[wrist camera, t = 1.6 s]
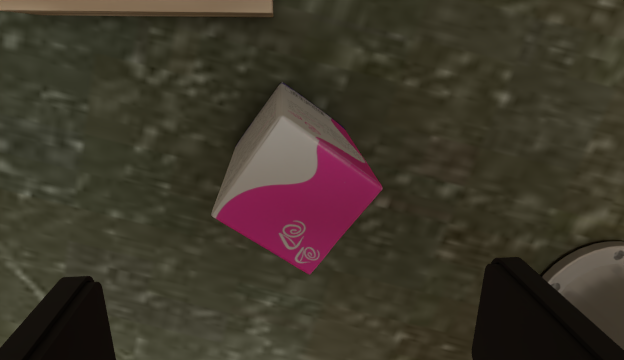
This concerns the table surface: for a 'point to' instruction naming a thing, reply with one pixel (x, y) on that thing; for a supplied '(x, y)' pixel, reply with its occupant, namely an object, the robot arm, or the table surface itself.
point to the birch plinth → (142, 7)
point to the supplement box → (295, 181)
